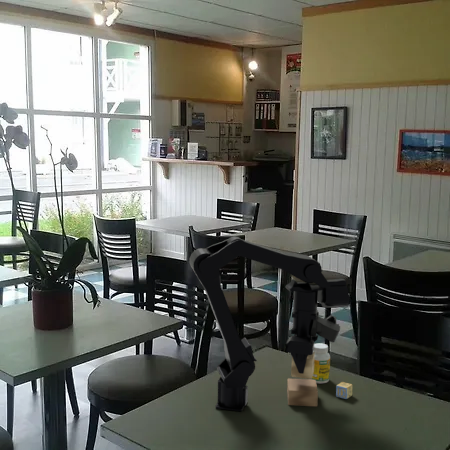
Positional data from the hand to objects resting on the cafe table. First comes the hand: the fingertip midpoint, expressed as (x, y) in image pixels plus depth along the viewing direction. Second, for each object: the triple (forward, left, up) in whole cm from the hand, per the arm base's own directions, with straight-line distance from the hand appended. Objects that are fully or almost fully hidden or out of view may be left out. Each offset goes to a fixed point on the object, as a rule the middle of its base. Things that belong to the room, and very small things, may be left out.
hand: (302, 369), depth 142 cm
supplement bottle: (+3, +13, -8) cm, 16 cm away
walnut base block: (0, 0, -8) cm, 8 cm away
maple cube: (0, 0, -1) cm, 1 cm away
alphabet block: (+10, +5, -8) cm, 14 cm away
